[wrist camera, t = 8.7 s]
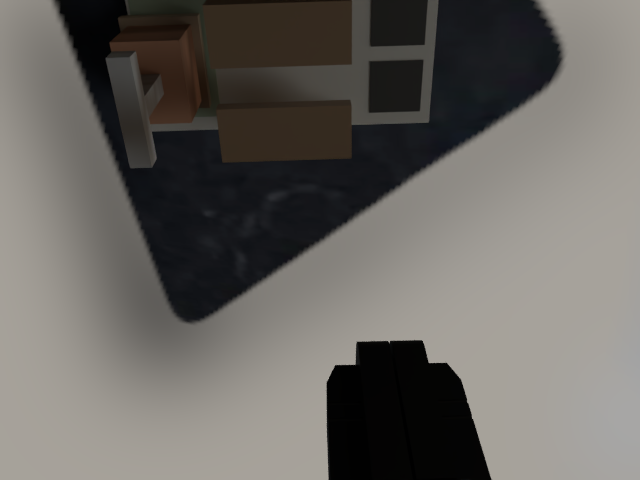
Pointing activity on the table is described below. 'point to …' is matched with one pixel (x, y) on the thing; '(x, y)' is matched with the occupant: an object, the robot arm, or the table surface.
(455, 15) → the table surface
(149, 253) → the table surface
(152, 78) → the sled
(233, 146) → the tunnel
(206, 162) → the table surface
